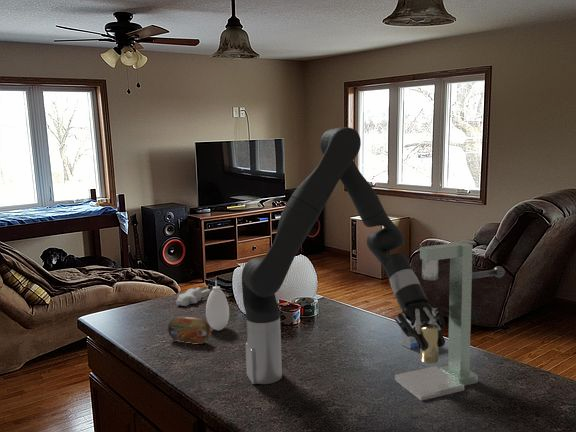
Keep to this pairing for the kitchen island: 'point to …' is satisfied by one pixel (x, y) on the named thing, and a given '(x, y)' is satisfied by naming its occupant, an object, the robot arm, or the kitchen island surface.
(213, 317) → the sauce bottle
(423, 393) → the press bed
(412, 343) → the medicine box
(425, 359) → the housing
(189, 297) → the bunny figurine
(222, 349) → the kitchen island surface
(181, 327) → the tin
